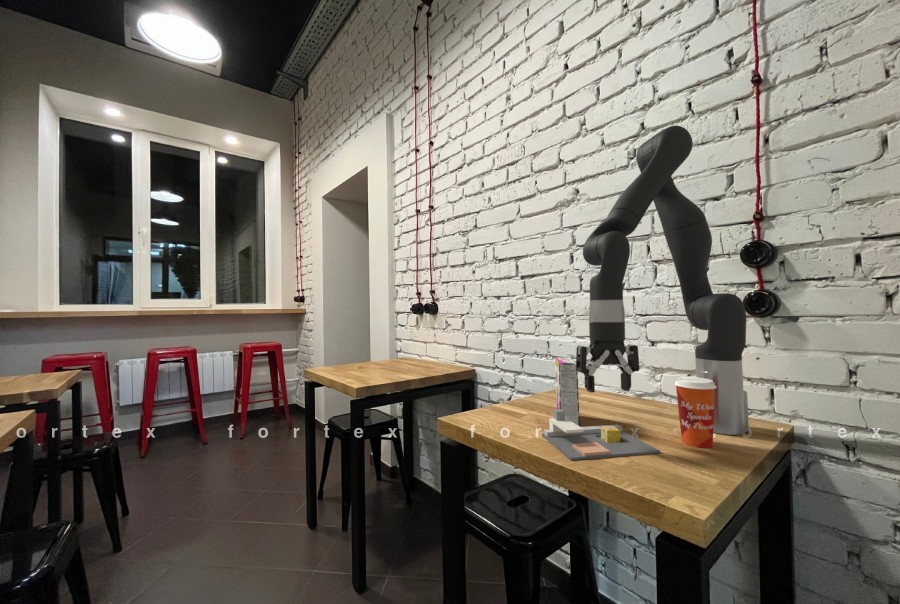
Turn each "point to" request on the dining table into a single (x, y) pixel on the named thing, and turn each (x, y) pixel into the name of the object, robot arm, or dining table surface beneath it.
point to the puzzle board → (596, 444)
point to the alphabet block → (610, 434)
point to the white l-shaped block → (562, 423)
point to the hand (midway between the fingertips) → (608, 391)
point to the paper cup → (696, 410)
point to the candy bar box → (567, 388)
